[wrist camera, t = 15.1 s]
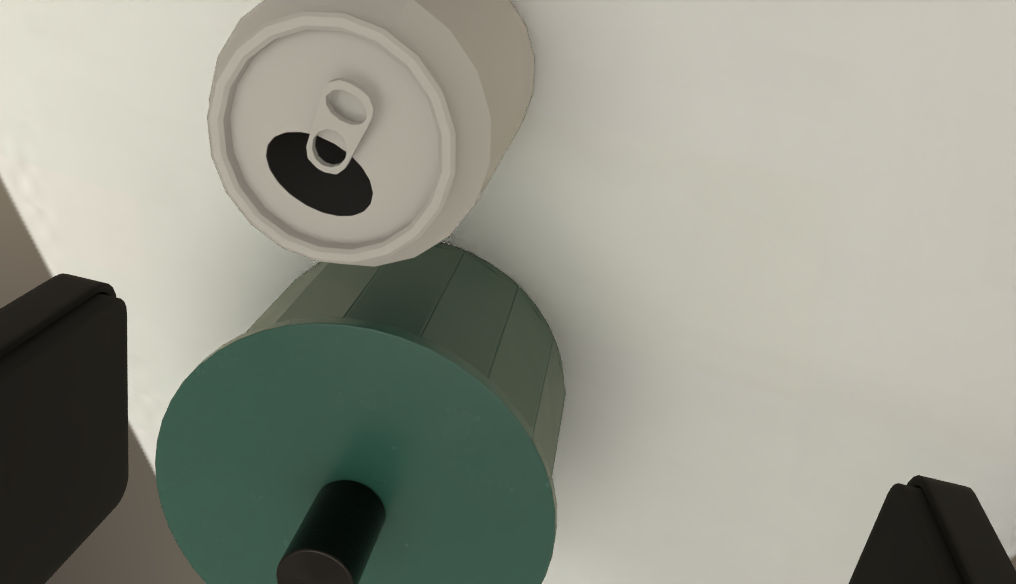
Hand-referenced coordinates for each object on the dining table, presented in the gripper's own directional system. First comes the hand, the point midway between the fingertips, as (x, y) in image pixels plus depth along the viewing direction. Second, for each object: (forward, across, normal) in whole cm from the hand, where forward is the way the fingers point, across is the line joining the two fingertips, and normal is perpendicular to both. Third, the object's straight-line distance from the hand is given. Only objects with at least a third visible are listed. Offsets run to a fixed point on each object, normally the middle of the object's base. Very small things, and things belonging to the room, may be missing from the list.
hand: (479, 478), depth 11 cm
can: (+23, +6, 0) cm, 24 cm away
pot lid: (+15, +5, +13) cm, 20 cm away
